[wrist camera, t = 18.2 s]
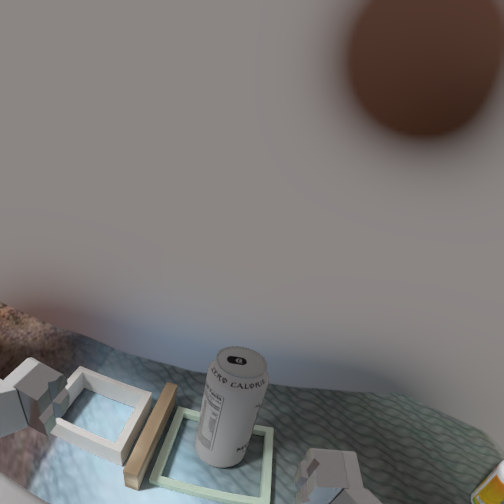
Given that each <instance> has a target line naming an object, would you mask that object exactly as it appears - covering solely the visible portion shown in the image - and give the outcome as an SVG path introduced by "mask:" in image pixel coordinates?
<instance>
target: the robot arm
mask: <svg viewBox="0 0 504 504" xmlns="http://www.w3.org/2000/svg"><path fill="white" fill-rule="evenodd" d="M67 384H68V382H67V377H66V376H65V375H63V374H61V373H59V372H58V371H56V370H54V369H52V368H50V367H48V366H47V365H45V364H43V363H41V362H39V361H38V360H36V359H34V358H32V357H30V358H27V359H26V360H25V361H24V362H23V363H21V364H20V365H19V366H18V367H17V368H16V369H15V370H14V371H13V372H11V373H10V374H9V375H8V376H7V377H6V378H5V379H4V380H2V379H0V438H1V437H4V436H6V435H9V434H11V433H14V432H16V431H19V430H21V429H24V428H26V427H28V426H30V427H32V428H34V429H35V430H37V431H39V432H41V433H43V434H44V435H46V436H48V435H49V434H50V432H51V431H52V430H53V428H54V427H55V426H56V418H59V417H62V416H63V415H64V414H65V412H66V411H67V408H68V406H69V401H70V396H69V392H68V391H67V389H66V388H65V386H66V385H67ZM295 487H296V488H297V490H298V493H297V494H296V495H295V504H382V503H381V502H380V501H379V500H378V499H377V498H376V497H375V496H374V495H373V494H372V493H371V492H370V491H369V490H368V489H364V487H363V482H362V477H361V473H360V468H359V464H358V459H357V455H356V453H355V452H354V451H339V450H330V449H319V448H310V449H309V450H308V451H307V453H306V459H305V460H303V461H301V462H300V464H299V465H298V467H297V470H296V473H295ZM0 504H49V503H48V502H46V501H44V500H42V499H41V498H39V497H37V496H36V495H34V494H33V493H31V492H29V491H28V490H26V489H25V488H23V487H22V486H20V485H19V484H17V483H16V482H14V481H13V480H12V479H10V478H9V477H7V476H6V475H5V474H3V473H2V472H0Z"/></svg>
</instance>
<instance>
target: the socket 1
mask: <svg viewBox="0 0 504 504" xmlns="http://www.w3.org/2000/svg"><path fill="white" fill-rule="evenodd" d="M67 382H68V384H67V385H66V386H65V388H66V389H67V391H68V392H69V396H70V401H69V406H70V405H71V404H72V403H73V401H74V400H75V399H76V398H77V396H78V395H79V394H80V393H81V391H82V390H83V389H84V388H86V389H88V390H91V391H93V392H95V393H98V394H100V395H103V396H105V397H108V398H110V399H113V400H115V401H118V402H120V403H123V404H126V405H129V406H131V407H134V408H135V409H134V411H133V412H132V414H131V416H130V418H129V419H128V421H127V423H126V425H125V427H124V428H123V430H122V432H121V434H120V435H119V437H118V439H117V441H116V443H114V442H112V441H109V440H107V439H104V438H102V437H100V436H97V435H95V434H93V433H91V432H88V431H86V430H84V429H82V428H80V427H78V426H75V425H73V424H71V423H69V422H67V421H65V420H63V419H61V417H59V418H56V426H55V427H54V428H53V430H52V431H51V432H50V433H51V434H53V435H55V436H57V437H59V438H61V439H63V440H65V441H66V442H68V443H70V444H72V445H74V446H77V447H79V448H81V449H83V450H85V451H87V452H89V453H92V454H94V455H96V456H98V457H101V458H103V459H105V460H108V461H110V462H113V463H115V464H118V465H120V466H123V464H124V462H125V460H126V458H127V456H128V454H129V452H130V450H131V448H132V446H133V444H134V442H135V440H136V438H137V436H138V434H139V432H140V430H141V428H142V426H143V424H144V422H145V420H146V418H147V416H148V414H149V412H150V410H151V405H152V393H151V392H148V391H145V390H142V389H139V388H136V387H133V386H131V385H128V384H125V383H122V382H120V381H117V380H114V379H112V378H109V377H106V376H104V375H101V374H99V373H96V372H94V371H91V370H89V369H87V368H84V367H82V366H79V367H78V369H77V370H76V371H75V372H74V373H73V374H72V375H71V376H70V377H69V378H68V380H67ZM69 406H68V408H69ZM68 408H67V409H68Z"/></svg>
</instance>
